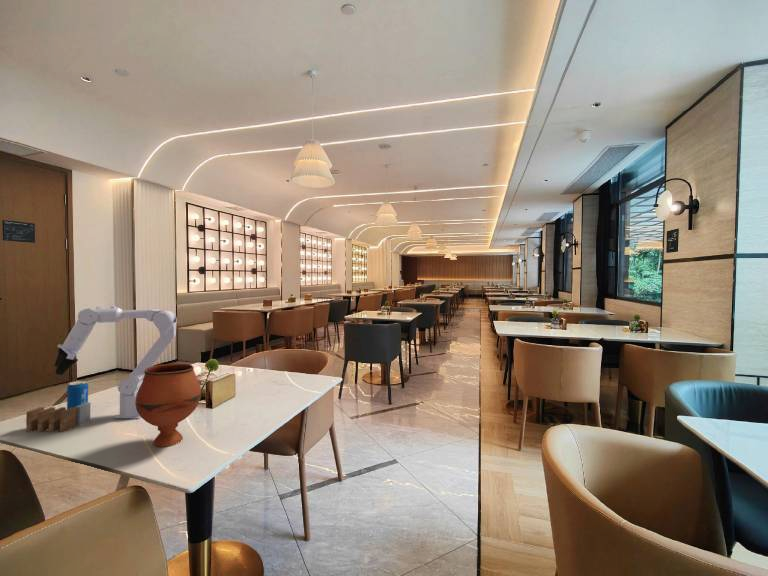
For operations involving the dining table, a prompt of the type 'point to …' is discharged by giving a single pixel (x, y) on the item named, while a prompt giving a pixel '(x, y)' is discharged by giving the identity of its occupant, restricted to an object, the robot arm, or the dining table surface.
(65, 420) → the walnut tile
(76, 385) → the beverage can
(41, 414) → the walnut tile
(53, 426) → the walnut tile
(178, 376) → the goblet
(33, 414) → the walnut end tile
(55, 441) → the dining table surface
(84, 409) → the slate head tile
